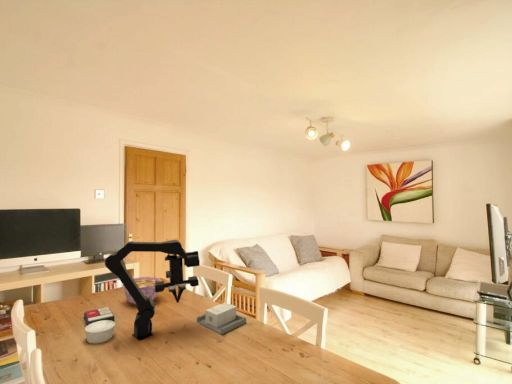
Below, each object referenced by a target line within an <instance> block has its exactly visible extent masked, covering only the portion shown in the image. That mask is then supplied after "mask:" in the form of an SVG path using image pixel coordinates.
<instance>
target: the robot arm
mask: <svg viewBox="0 0 512 384" xmlns="http://www.w3.org/2000/svg"><path fill="white" fill-rule="evenodd" d="M133 252H139V253H140V252H141V253H142V252H143V253H145V252H146V253H147V252H149V253H153V252H154V253H155V252H158V253H163V254H167V255H165V257H164V261H165V262H166V261H168V263H169V264H168V265H169V270H166V271H165V279H169V282H165V281H164V280H161V281H160V282H156V283H155V292H158V293H161V292H164V290H165V289H166V288H168V293H172V295H173V296H174V300H175V301H176V303H180V300H181V296H182V295H183V292H184V291H185V290H187V287H186V286H187V285H190V286H191V287H198V286H199V285H200V281H199V279H198V277H197V276H196V275H193V276H188V277H187V279H185V280H184V269H183V268H184V266H185V267H186V268H194V267H199V266H200V261H201V260H200V257H199V256H200V255H199V250H195V251H188V252H187V251H186V250H185V249H184V248H183V245H182V243H181V242H180V240H178V239H173V240H172V239H171V240H167V241H161V242H160V241H157V242H156V241H155V242H154V241H132V240H131V241H128V242H126V244H125V245H124V246H123V247H121V248H120V249H119V250H118V251H116V252H112V253H110V254H109V255H108V256H107V257H106V259H105V260H104V266H105V268H107V269H108V270H109V271H110V273H112V274H114V275H115V276H117V278H118V279H119V280H120V282H121V284H122V286H123V285H124V286H125V288H126V289H127V291H128V292H129V294H130V295H131V297H132V298H133V299H134V301H135V302H136V309H137V313H136V315H135V318H134V321H133V333H132V334H131V336H132V337H133V338H135V339H136V340H138V341H141V340H143V339H146V338H149V337H151V336H153V335H154V333H152V332H153V322H152V319H153V318H154V316H155V313H156V312H155V311H156V301H154V300H152V298H151V296H149V297H146V296H145V295H144V294H143V293H142V291H141V290H140V288H139V287H138V285H137V284H136V282H135V281H134V278H133V276H132V275H131V273H130V272H129V271H128V269H127V267H126V261H125V260H124V259H125V258H126V257H127V256H129V254H130V253H133ZM176 287H177V288H176Z"/></svg>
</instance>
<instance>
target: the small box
mask: <svg viewBox="0 0 512 384" xmlns="http://www.w3.org/2000/svg"><path fill="white" fill-rule="evenodd" d="M205 314H206V318H205V323H207V324H209V325H211V326H213V327H215V328H218V327H220V326H222V325H224V324H226V323H228V322H231V321H233V320H235V319H236V314H237V306H236V305H234V304H232V303H228V302H223V303H219V304H217V305H214V306H213V307H210V308H208V309H206V310H205Z"/></svg>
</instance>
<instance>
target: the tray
mask: <svg viewBox="0 0 512 384" xmlns="http://www.w3.org/2000/svg"><path fill="white" fill-rule="evenodd" d="M205 318H206V313H204V314H202V315H200V316H199V315H198V316H197V317H196V323H197V324H199V325H201V326H203V327H205V328H207V329H209V330H211V331H213V332H215V333H217V334H219V335H220V336H223V335H225V334H227V333H229V332H232V331H234V330H235V328H236V329H238V328H239V326H240V327H241V325H242V326H243V324H244V325H246V324H247V317H244V316H242V315H240V314H237V313H236V319H235V320H233V321H231V322H228V323H226V324H224V325H222V326H220V327H218V328H215V327H213V326H211V325H209V324H207V323H205ZM245 323H246V324H245ZM237 327H238V328H237ZM233 329H234V330H233Z"/></svg>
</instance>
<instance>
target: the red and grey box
mask: <svg viewBox="0 0 512 384" xmlns="http://www.w3.org/2000/svg"><path fill="white" fill-rule="evenodd" d="M83 319H85V320H84V323H85V325H86V327H87V326H88V325H89V324H91V323H94V322H97V321H102V320H110V321H113V322H115V314H114V313H113V312H112V310H111V308H109V307H108V306H105V307H102V308H97V309H91V310H86V311H85V312H84V313H83Z"/></svg>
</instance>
